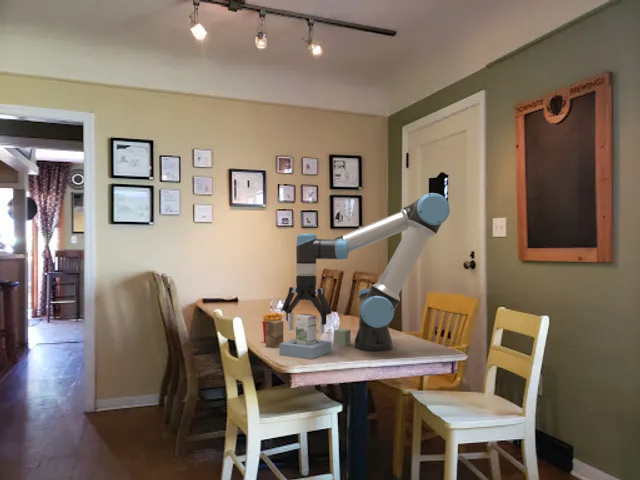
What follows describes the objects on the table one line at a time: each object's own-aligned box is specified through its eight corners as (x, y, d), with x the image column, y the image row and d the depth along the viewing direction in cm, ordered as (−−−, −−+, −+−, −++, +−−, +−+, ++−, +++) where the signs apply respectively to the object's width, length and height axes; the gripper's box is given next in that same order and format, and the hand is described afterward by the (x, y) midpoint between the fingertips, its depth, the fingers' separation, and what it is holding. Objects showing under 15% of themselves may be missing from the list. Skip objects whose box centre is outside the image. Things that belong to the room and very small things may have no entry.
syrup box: (317, 353, 180) (317, 314, 181) (307, 356, 176) (307, 316, 176) (305, 351, 184) (305, 313, 184) (295, 353, 179) (295, 314, 179)
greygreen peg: (350, 344, 198) (350, 329, 198) (344, 346, 194) (344, 331, 194) (339, 342, 200) (339, 328, 201) (333, 345, 196) (334, 330, 196)
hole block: (331, 352, 183) (331, 341, 183) (312, 359, 170) (312, 348, 171) (299, 347, 190) (299, 337, 190) (279, 354, 177) (279, 343, 178)
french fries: (264, 343, 197) (265, 314, 197) (261, 342, 201) (261, 313, 201) (283, 341, 201) (283, 313, 201) (279, 340, 205) (280, 312, 205)
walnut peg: (283, 346, 193) (283, 321, 193) (276, 348, 189) (276, 322, 189) (273, 344, 195) (273, 320, 196) (265, 347, 191) (265, 321, 191)
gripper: (340, 275, 177) (340, 333, 177) (284, 273, 190) (283, 327, 190) (330, 276, 171) (330, 336, 171) (273, 274, 183) (272, 330, 183)
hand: (305, 331), depth 180 cm, fingers open, 13 cm apart
